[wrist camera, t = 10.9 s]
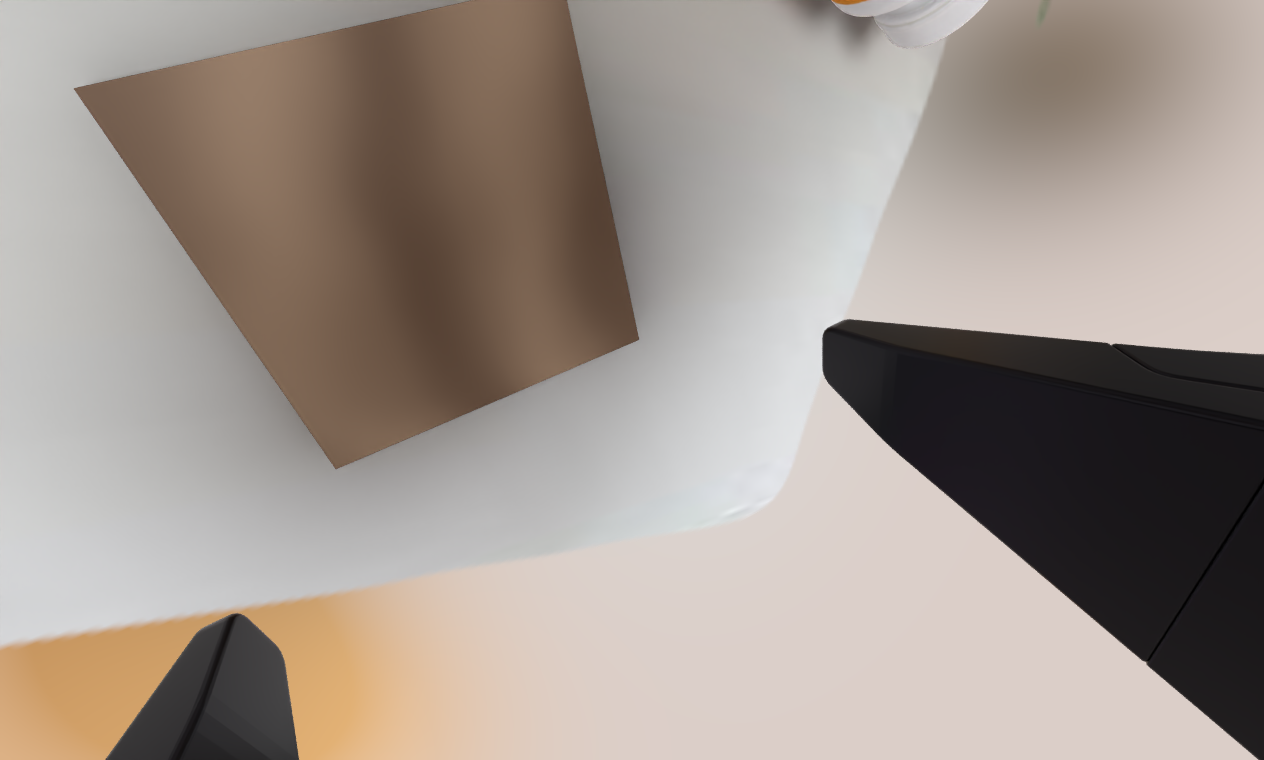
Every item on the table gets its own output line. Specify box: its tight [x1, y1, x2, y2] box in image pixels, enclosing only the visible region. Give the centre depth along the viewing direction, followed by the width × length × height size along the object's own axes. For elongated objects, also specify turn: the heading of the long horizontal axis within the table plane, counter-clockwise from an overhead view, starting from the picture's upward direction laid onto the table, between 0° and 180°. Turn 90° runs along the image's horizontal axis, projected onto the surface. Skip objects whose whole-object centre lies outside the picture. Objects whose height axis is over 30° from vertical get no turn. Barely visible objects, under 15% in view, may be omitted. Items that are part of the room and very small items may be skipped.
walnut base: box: [74, 0, 639, 469], centre depth 18 cm, size 12×12×2 cm
